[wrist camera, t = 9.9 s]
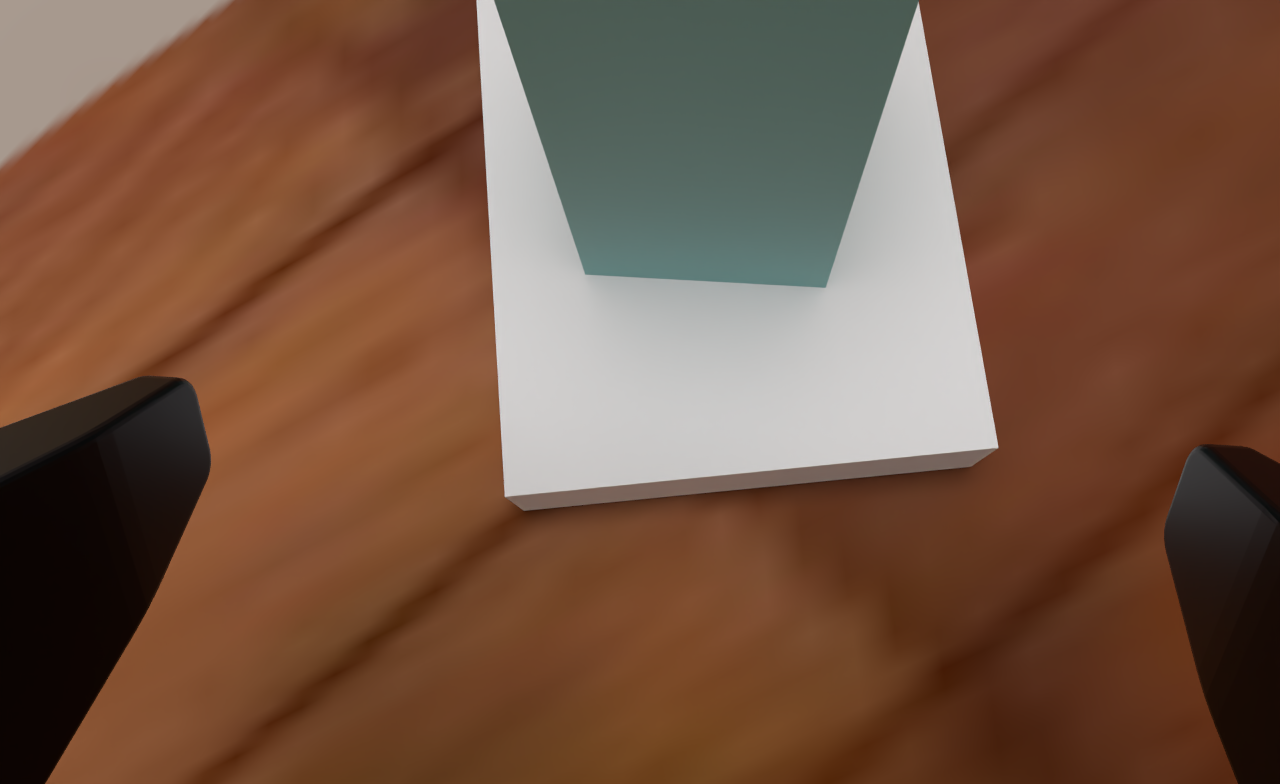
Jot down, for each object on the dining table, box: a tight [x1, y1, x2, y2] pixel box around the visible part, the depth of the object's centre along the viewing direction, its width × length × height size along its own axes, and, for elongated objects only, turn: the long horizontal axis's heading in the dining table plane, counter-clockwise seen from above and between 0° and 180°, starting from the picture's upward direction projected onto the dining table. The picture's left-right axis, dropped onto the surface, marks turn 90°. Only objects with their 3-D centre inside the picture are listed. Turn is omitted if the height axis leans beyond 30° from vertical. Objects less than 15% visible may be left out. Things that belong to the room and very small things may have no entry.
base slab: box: [477, 0, 998, 511], centre depth 21 cm, size 12×9×2 cm
